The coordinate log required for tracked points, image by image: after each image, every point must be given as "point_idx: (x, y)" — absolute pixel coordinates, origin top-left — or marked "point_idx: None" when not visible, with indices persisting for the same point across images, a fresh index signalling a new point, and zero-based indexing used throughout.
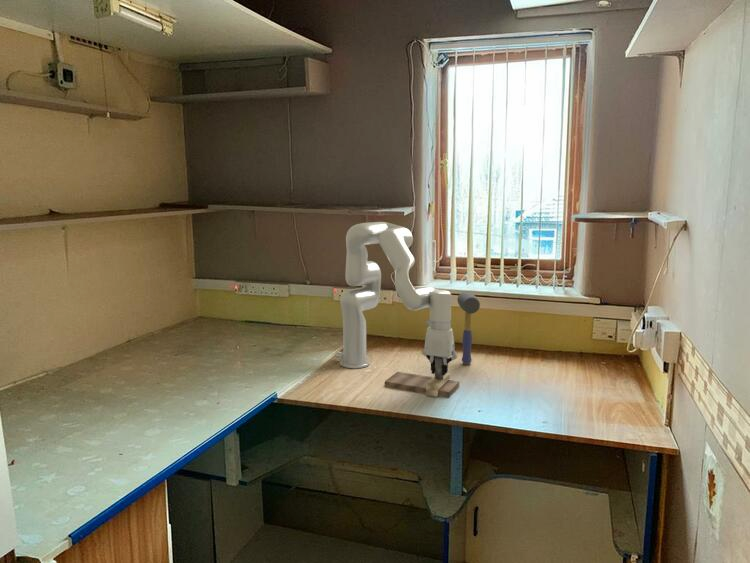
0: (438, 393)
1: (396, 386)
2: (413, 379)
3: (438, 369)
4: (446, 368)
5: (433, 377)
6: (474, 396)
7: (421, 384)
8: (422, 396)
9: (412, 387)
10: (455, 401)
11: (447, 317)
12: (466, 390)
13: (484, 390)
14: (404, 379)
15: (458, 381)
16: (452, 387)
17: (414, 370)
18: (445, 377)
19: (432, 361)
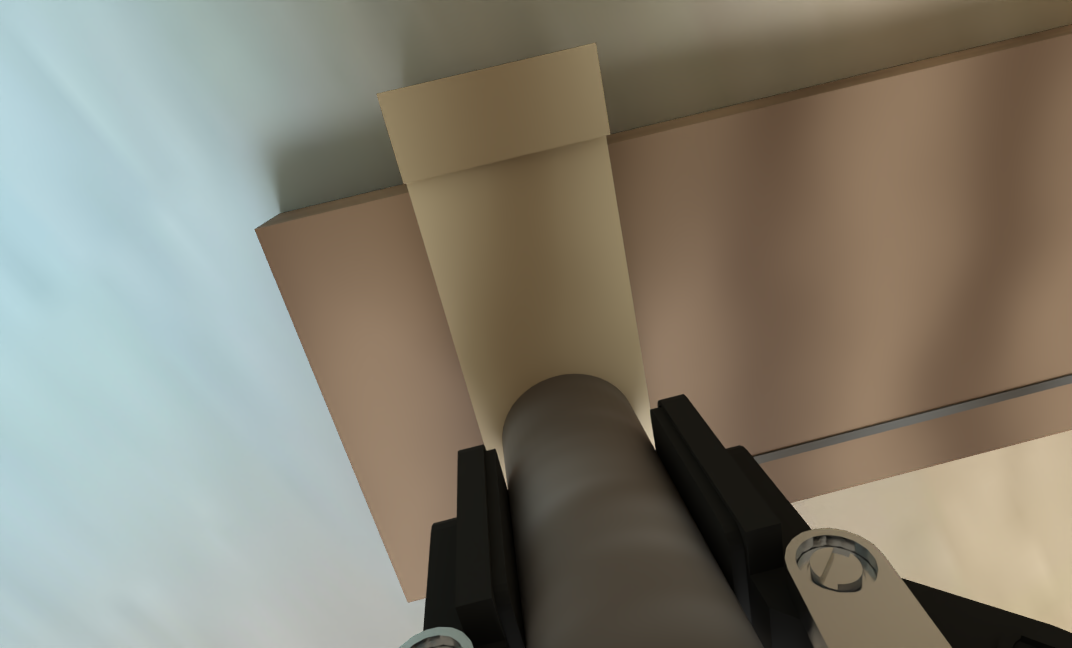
0: None
1: (1033, 37)
2: (908, 316)
3: (575, 484)
4: (429, 590)
5: None
6: (81, 438)
7: (742, 232)
8: (584, 9)
9: (816, 91)
10: (119, 146)
11: None
12: (281, 519)
13: (140, 628)
14: (1015, 242)
15: (413, 593)
16: (340, 402)
17: (988, 597)
18: None
19: (801, 576)
